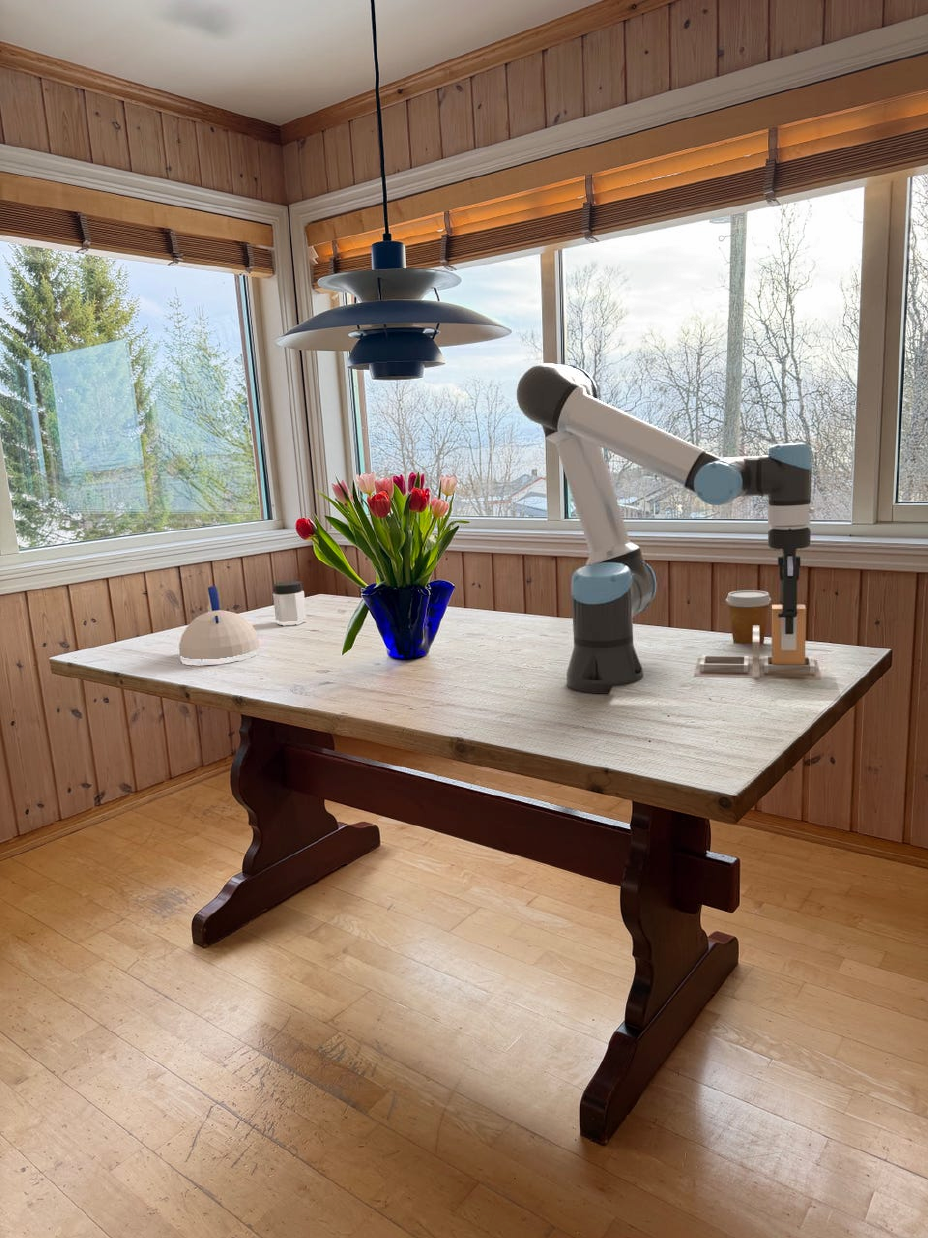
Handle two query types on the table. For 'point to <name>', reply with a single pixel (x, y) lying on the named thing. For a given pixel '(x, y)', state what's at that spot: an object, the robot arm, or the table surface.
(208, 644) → the beige dome cover
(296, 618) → the jar
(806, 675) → the divided caddy with handle
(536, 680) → the table surface
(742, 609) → the disposable coffee cup
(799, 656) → the block
